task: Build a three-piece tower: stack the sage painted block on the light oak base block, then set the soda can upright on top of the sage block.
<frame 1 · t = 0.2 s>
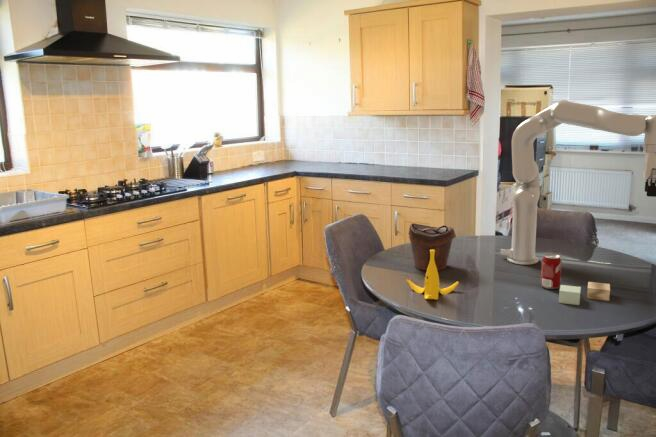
hand: (650, 194, 223), 31 cm above the table, fingers open, 9 cm apart
oak base block: (597, 296, 206), on the table
banana peel: (437, 293, 213), on the table
sage block: (569, 301, 203), on the table
brown flower pot: (431, 266, 244), on the table
soda can: (550, 287, 216), on the table
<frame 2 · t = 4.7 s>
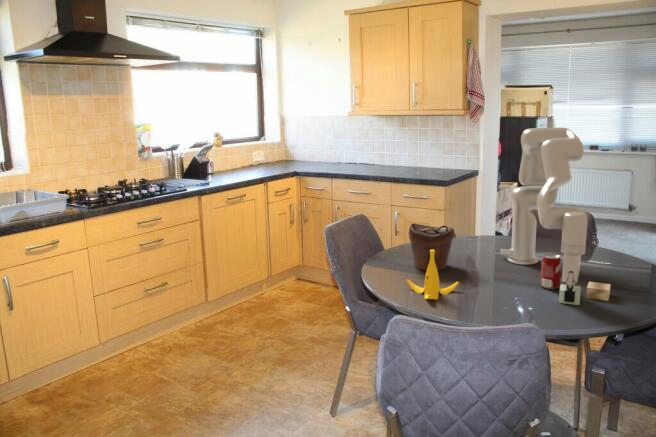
hand: (569, 297, 202), 1 cm above the table, fingers closed on sage block, 6 cm apart
sage block: (569, 300, 203), on the table, touching gripper
everything else where it was.
when the fingers open (6 cm above the table, at t = 9.6 s): sage block drops 1 cm, resting on oak base block.
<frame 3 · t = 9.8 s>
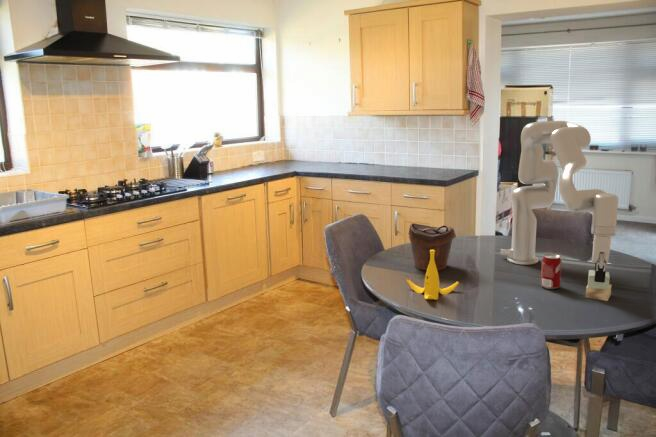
hand: (599, 277, 205), 7 cm above the table, fingers open, 8 cm apart
oak base block: (598, 296, 206), on the table, touching sage block
sage block: (598, 285, 205), point 4 cm above the table, touching oak base block
everything else where it was.
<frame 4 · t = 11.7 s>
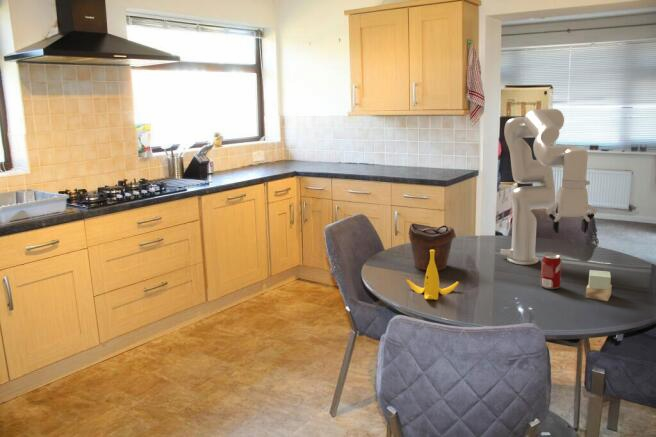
hand: (569, 231, 208), 22 cm above the table, fingers open, 9 cm apart
nothing on the table moved.
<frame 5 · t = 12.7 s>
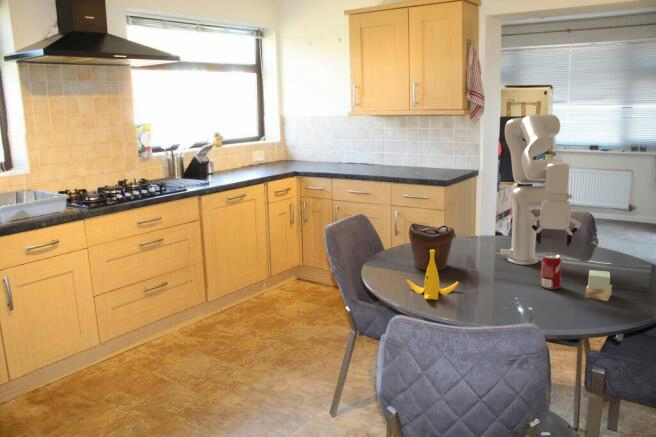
hand: (553, 244, 212), 16 cm above the table, fingers open, 9 cm apart
oak base block: (598, 296, 206), on the table
sage block: (598, 285, 205), point 4 cm above the table
everything else where it was.
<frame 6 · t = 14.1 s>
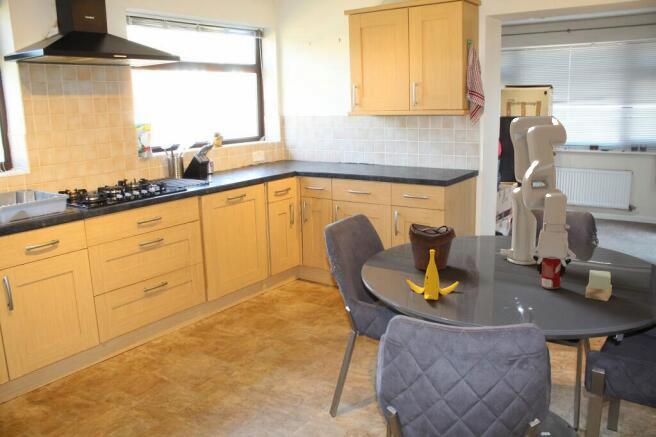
hand: (551, 274, 215), 5 cm above the table, fingers closed on soda can, 6 cm apart
oak base block: (598, 296, 206), on the table, touching sage block
sage block: (599, 285, 205), point 4 cm above the table, touching oak base block
soda can: (550, 287, 216), on the table, touching gripper
everything else where it was.
when the fingers open (15 cm above the table, at t = 19.5 s): soda can drops 2 cm, resting on sage block.
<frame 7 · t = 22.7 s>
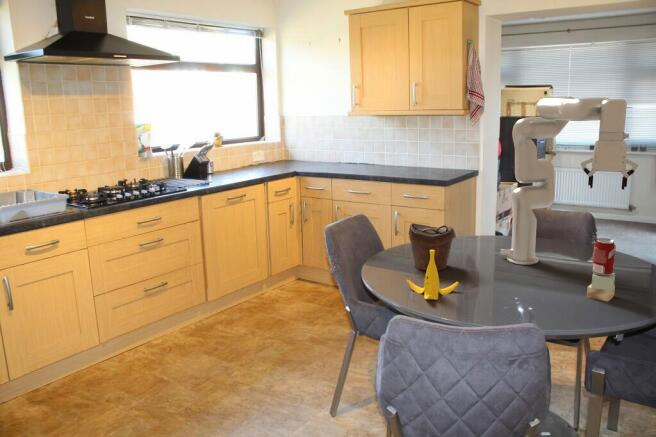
hand: (606, 188, 197), 38 cm above the table, fingers open, 9 cm apart
sage block: (602, 286, 204), point 4 cm above the table, touching oak base block, soda can
soda can: (601, 273, 204), point 8 cm above the table, touching sage block
at the end: sage block 0.6 cm off-centre on the oak base block, point 4.1 cm above the oak base block's base; soda can 0.4 cm from the oak base block (horizontally); soda can point 8.3 cm above the table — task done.
